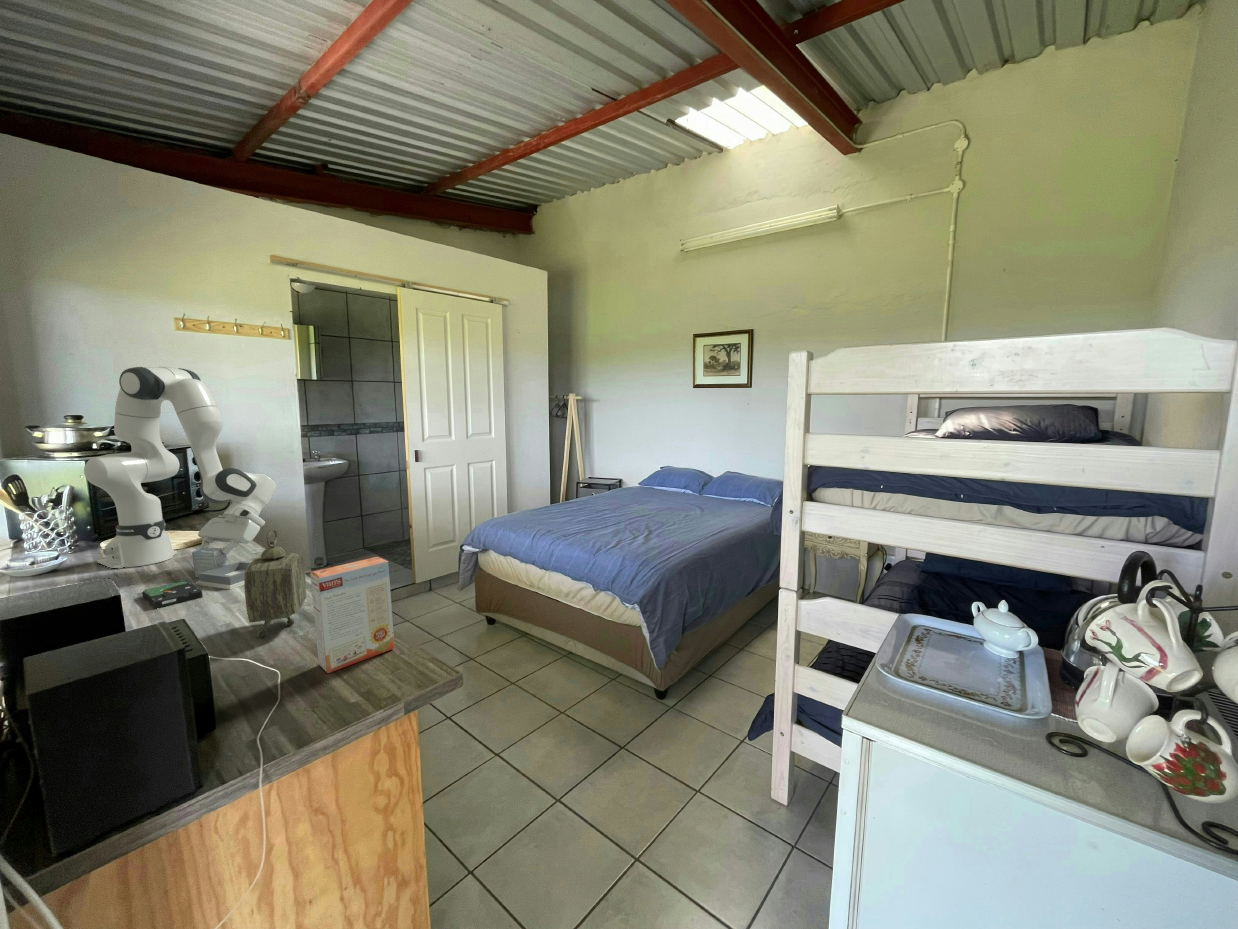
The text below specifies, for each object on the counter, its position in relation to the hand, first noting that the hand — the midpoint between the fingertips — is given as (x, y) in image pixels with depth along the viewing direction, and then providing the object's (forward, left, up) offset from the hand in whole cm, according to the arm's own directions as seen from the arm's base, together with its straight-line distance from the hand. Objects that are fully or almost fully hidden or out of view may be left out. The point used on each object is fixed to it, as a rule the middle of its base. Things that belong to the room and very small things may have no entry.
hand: (212, 552), depth 158 cm
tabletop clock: (+57, -24, -8) cm, 62 cm away
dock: (+12, -2, -7) cm, 14 cm away
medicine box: (0, -1, -8) cm, 8 cm away
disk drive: (+9, -17, -8) cm, 21 cm away
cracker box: (+87, -31, -8) cm, 92 cm away
